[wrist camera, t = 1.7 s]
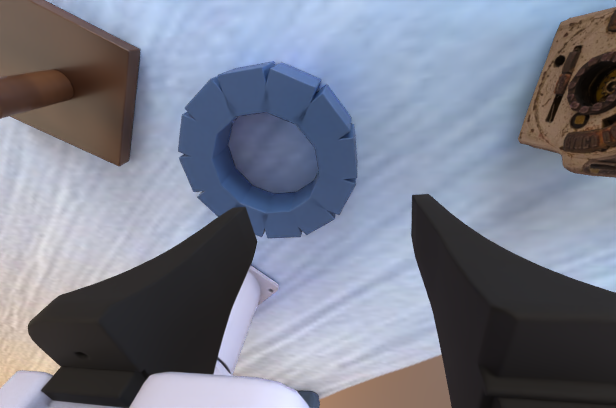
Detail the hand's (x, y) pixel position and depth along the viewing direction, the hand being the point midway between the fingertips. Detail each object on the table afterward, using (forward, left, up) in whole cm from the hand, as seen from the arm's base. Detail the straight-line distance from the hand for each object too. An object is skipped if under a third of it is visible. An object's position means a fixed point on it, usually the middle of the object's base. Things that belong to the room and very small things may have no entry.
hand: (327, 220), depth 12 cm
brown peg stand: (-10, +17, -9) cm, 22 cm away
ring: (-4, +3, -9) cm, 10 cm away
